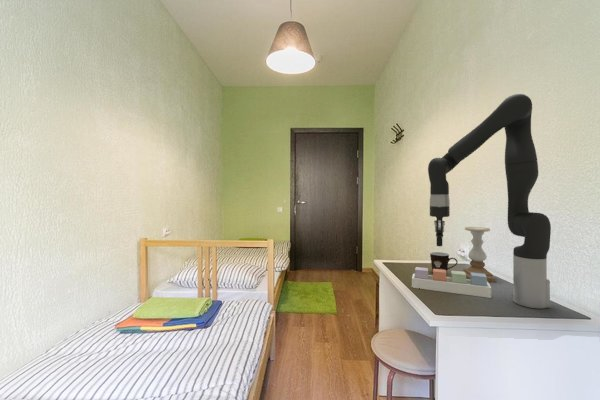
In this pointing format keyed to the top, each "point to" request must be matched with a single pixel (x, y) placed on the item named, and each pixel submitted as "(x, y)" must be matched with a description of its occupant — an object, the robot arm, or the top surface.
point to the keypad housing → (452, 286)
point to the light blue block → (478, 279)
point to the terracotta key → (439, 275)
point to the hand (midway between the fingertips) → (439, 245)
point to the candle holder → (477, 254)
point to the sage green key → (458, 277)
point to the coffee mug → (440, 261)
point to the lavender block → (421, 273)
